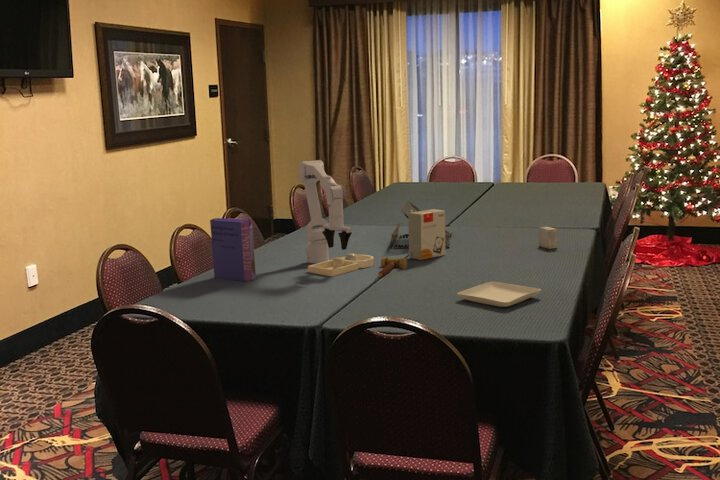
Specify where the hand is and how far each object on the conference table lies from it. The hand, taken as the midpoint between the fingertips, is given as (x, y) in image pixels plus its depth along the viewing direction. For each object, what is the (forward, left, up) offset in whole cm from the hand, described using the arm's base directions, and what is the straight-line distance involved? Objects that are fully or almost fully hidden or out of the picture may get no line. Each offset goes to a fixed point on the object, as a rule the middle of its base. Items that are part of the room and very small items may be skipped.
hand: (337, 248), depth 320 cm
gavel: (+19, +9, -10) cm, 23 cm away
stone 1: (0, 0, -9) cm, 9 cm away
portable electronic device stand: (-9, +66, -10) cm, 67 cm away
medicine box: (+46, +87, -10) cm, 99 cm away
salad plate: (+77, +1, -10) cm, 78 cm away
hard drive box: (+13, +42, -10) cm, 45 cm away
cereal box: (-26, -33, -10) cm, 43 cm away
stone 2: (-1, +9, -9) cm, 12 cm away
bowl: (+1, +11, -9) cm, 14 cm away
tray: (0, -3, -9) cm, 10 cm away
